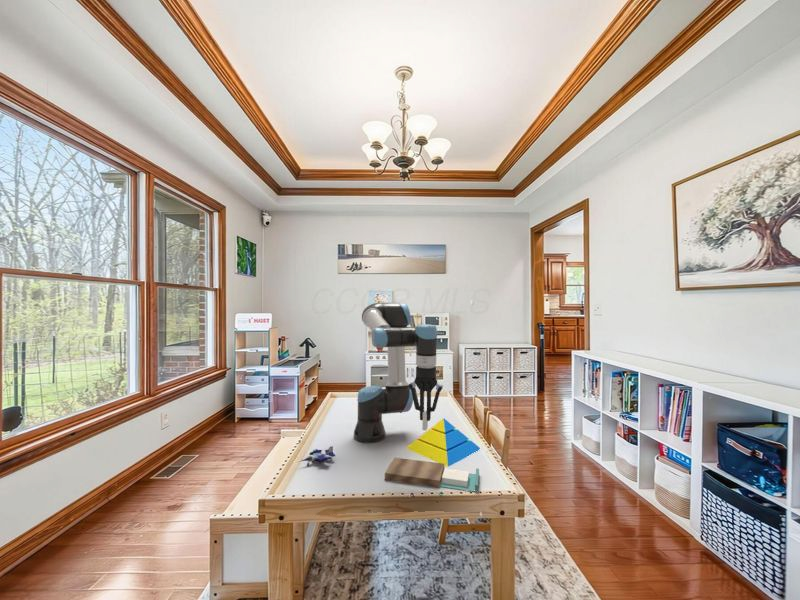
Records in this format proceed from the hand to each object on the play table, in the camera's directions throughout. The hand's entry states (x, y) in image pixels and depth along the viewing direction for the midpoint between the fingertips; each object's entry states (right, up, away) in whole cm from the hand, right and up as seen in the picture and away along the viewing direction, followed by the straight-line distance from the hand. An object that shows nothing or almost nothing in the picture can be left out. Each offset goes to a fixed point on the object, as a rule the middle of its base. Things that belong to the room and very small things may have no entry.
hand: (425, 428), depth 129 cm
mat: (+12, -17, -4) cm, 22 cm away
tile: (+11, -17, -4) cm, 21 cm away
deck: (-4, -17, 0) cm, 18 cm away
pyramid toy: (+10, -19, +24) cm, 32 cm away
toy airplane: (-43, -18, +9) cm, 47 cm away
